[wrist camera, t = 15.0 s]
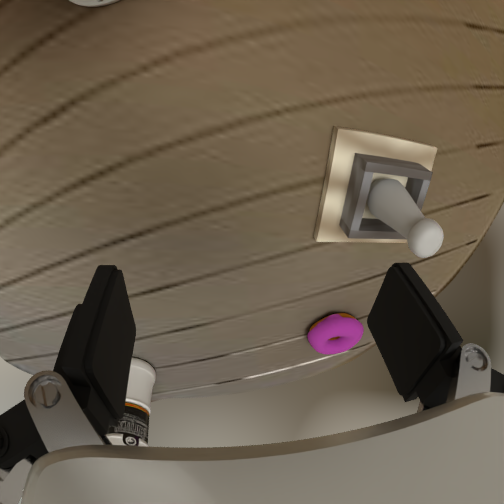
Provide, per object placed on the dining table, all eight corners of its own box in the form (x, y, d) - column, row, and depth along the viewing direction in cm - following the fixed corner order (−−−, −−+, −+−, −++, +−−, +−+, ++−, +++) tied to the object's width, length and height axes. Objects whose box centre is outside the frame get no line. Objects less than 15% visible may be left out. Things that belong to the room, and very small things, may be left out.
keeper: (333, 125, 35) (349, 135, 30) (431, 144, 37) (452, 156, 33) (313, 235, 44) (323, 256, 40) (403, 237, 46) (418, 255, 42)
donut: (297, 325, 55) (303, 344, 51) (346, 297, 52) (355, 316, 49) (321, 348, 60) (326, 366, 56) (364, 325, 58) (372, 342, 54)
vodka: (107, 368, 57) (89, 499, 33) (123, 349, 54) (105, 498, 29) (144, 383, 61) (137, 510, 37) (164, 366, 58) (160, 508, 33)
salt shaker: (352, 196, 39) (400, 252, 28) (379, 164, 36) (436, 211, 26) (379, 217, 41) (426, 274, 31) (404, 187, 39) (458, 237, 28)
